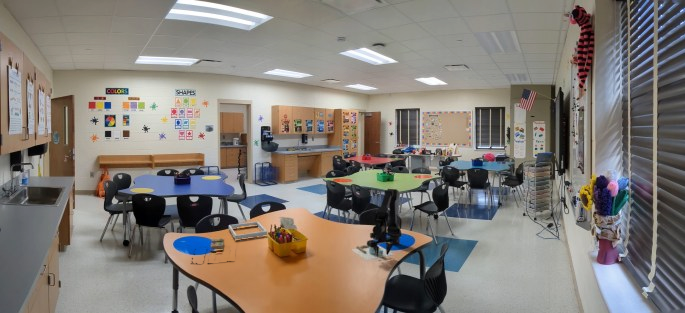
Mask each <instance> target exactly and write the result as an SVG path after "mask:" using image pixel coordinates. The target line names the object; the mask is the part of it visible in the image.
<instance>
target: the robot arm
mask: <svg viewBox="0 0 685 313" xmlns="http://www.w3.org/2000/svg"><path fill="white" fill-rule="evenodd" d="M383 192H384V193H383V199H382V201H381V205H380V206H379V207H378V208H377V210H376V212H375V213H374V220H373V223H375V225H374V226H373V228H372V232H370V233H369V237H370V240H367V241H366V245H368V246H369V247H371V248H373V249H374V251H375V253H376V256H377V257H378V253H379V247H378V245H381V244H385V245H386V246H385V249H386V254H387V255H388V254H389V252H391V250H392V248H393V246H396V245H397V246H401V245H402V244H401V243H400V240H401V238H400V237H402V234H403V233H402V231H401V227H400V224H399V222H398V217H397V200H398V199H399V195H400V192H399V190H398V188H387V189H386V190H385V189H384V191H383ZM388 222H389V223H388Z"/></svg>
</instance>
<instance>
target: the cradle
mask: <svg viewBox="0 0 685 313" xmlns="http://www.w3.org/2000/svg"><path fill="white" fill-rule="evenodd" d="M367 247H369V246H368V245H367V244H365V245H364V244H363V245H359V246H356V248H355V249H358V250H360V251H361V252H363V253H366V251H365V250H363V249H362V248H367ZM379 249H380V248H379Z"/></svg>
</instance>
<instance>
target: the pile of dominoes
mask: <svg viewBox="0 0 685 313" xmlns="http://www.w3.org/2000/svg"><path fill="white" fill-rule="evenodd" d="M223 247H224V248H225V238H224V237H222V238H221V237H220V238H212V239H211V242H210V250H211V249H223ZM223 250H224V249H223Z"/></svg>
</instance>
